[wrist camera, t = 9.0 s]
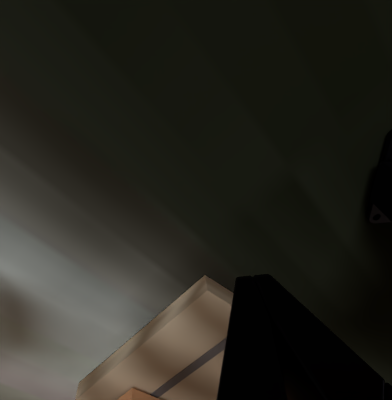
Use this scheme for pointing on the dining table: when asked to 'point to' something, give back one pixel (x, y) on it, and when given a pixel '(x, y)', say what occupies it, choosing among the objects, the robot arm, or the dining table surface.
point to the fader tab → (136, 395)
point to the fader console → (170, 351)
